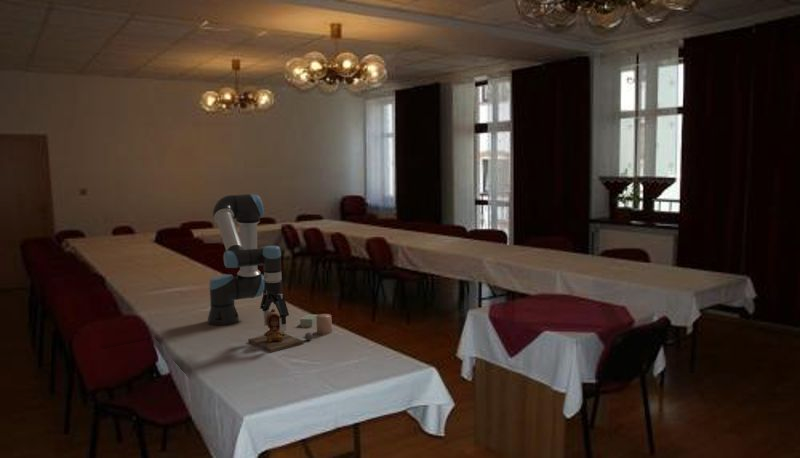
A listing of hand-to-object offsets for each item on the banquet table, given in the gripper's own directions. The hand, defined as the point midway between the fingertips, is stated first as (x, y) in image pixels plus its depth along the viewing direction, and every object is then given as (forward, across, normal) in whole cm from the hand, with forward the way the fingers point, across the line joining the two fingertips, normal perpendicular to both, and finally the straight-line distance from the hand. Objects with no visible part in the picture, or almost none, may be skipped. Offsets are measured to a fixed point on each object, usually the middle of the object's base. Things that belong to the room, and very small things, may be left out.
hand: (274, 328), depth 260 cm
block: (+7, -15, +28) cm, 33 cm away
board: (+7, 0, 0) cm, 7 cm away
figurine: (+6, 0, 0) cm, 6 cm away
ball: (+7, +7, +13) cm, 16 cm away
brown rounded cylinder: (+7, +2, +25) cm, 26 cm away
